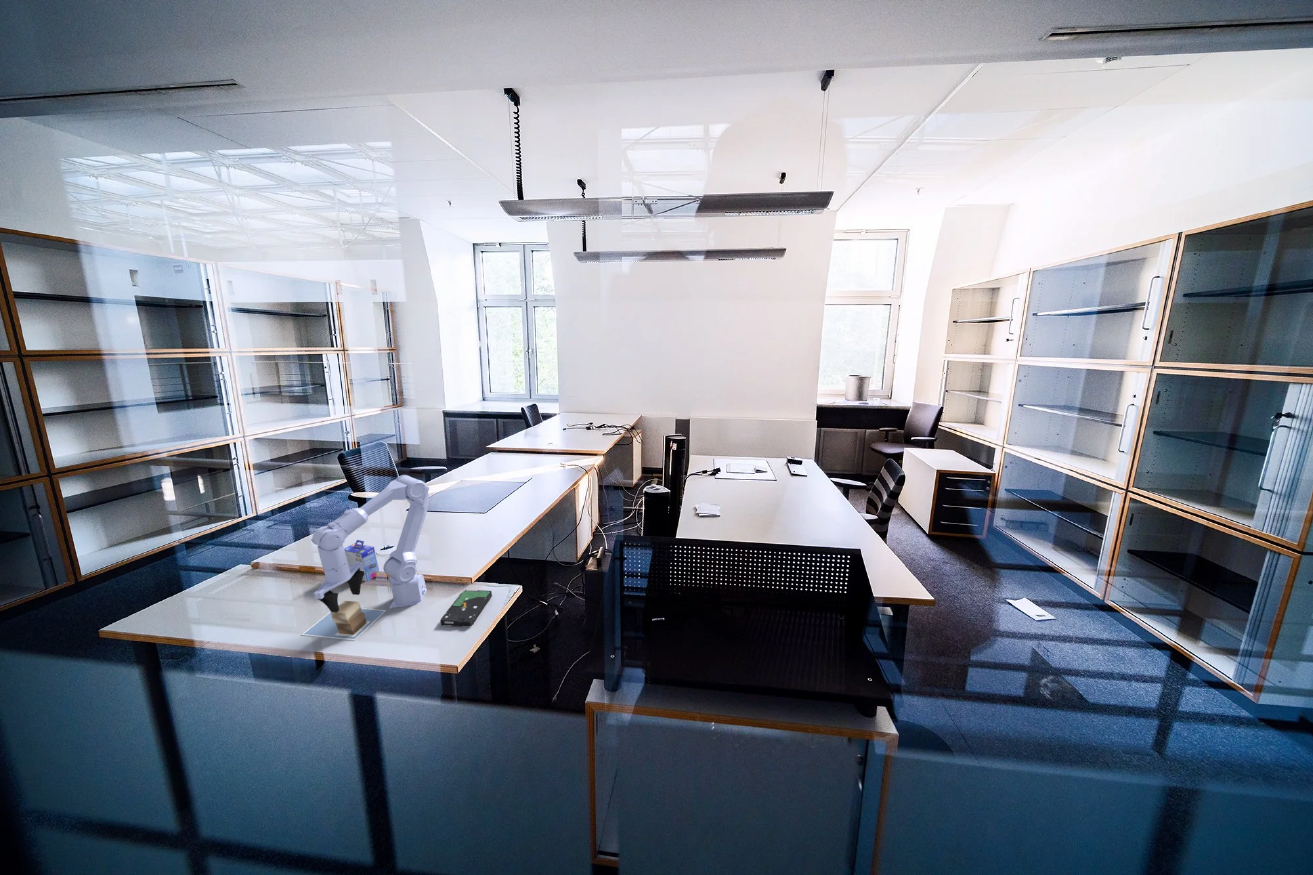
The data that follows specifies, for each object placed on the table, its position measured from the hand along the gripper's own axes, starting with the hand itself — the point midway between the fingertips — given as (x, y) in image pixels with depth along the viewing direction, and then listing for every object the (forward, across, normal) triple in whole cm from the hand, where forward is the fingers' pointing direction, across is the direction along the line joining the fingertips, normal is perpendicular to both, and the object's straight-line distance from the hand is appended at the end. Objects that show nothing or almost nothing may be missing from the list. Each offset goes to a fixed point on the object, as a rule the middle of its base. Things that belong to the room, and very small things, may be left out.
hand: (346, 602), depth 121 cm
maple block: (+6, 0, -1) cm, 6 cm away
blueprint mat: (+10, -2, -4) cm, 12 cm away
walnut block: (+10, 0, 0) cm, 10 cm away
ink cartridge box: (+11, -25, -18) cm, 32 cm away
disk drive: (+11, -12, +31) cm, 35 cm away
